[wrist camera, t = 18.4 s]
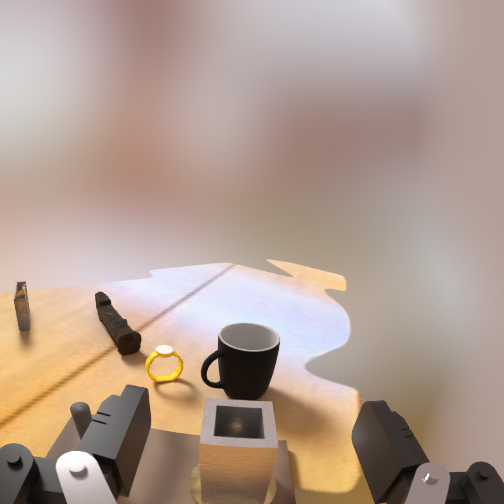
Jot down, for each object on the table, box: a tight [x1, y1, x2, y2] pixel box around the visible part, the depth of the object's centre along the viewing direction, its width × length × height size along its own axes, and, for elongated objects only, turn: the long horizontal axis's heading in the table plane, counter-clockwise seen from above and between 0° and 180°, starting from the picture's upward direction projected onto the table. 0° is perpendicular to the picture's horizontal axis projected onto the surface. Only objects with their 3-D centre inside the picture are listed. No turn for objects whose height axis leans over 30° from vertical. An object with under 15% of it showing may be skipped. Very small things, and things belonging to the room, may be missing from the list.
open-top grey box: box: [200, 397, 279, 504], centre depth 24 cm, size 6×6×10 cm
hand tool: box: [95, 292, 141, 355], centre depth 59 cm, size 23×5×6 cm, turn 40°
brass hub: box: [189, 463, 276, 504], centre depth 24 cm, size 9×9×7 cm
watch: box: [145, 345, 183, 383], centre depth 45 cm, size 6×3×6 cm, turn 121°
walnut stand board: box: [45, 402, 296, 504], centre depth 24 cm, size 28×16×10 cm, turn 91°
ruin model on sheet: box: [14, 281, 30, 330], centre depth 54 cm, size 11×3×10 cm, turn 39°
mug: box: [201, 323, 280, 401], centre depth 44 cm, size 12×9×10 cm
